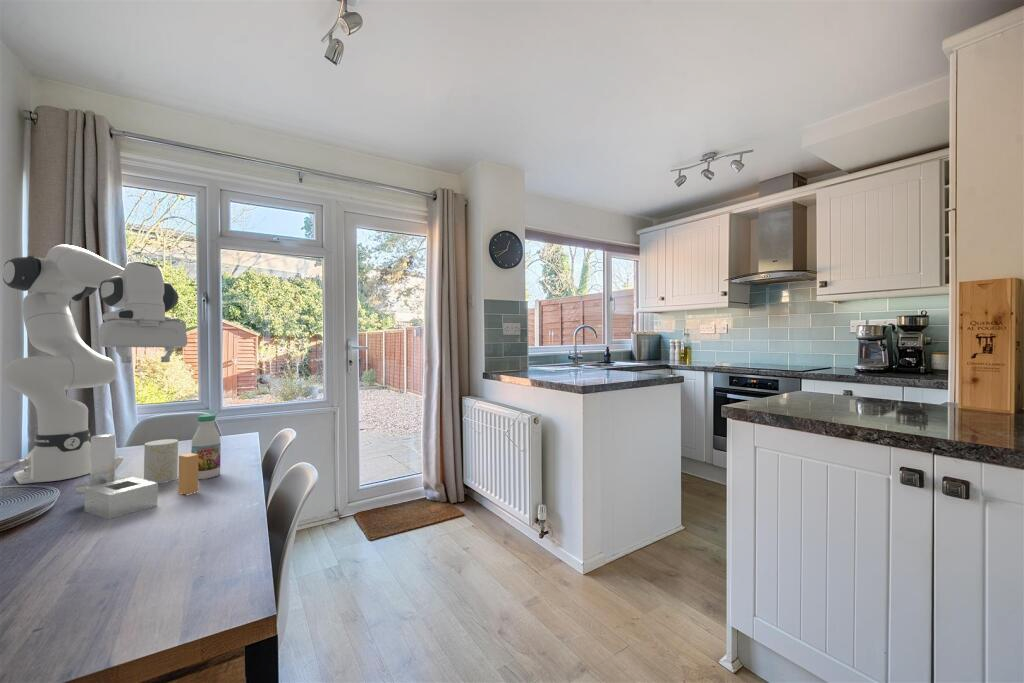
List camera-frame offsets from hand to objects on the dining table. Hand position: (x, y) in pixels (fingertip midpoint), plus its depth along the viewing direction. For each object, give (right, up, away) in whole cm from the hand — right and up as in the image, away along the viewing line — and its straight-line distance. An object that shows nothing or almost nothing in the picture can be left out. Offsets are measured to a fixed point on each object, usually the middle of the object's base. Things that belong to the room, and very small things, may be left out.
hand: (146, 362), depth 120 cm
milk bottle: (+7, -38, +14) cm, 41 cm away
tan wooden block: (+13, -38, -1) cm, 40 cm away
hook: (-12, -38, +2) cm, 40 cm away
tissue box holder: (0, -38, -11) cm, 39 cm away
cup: (-4, -38, +10) cm, 40 cm away
